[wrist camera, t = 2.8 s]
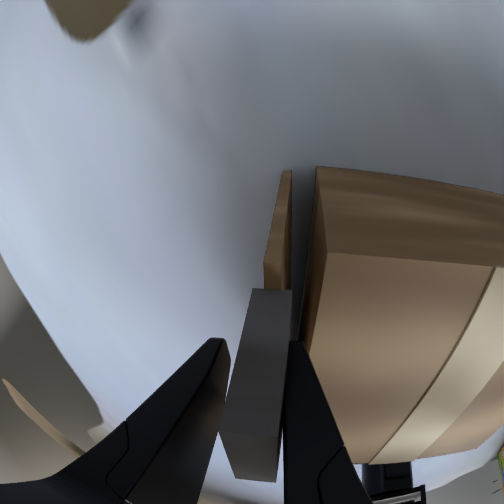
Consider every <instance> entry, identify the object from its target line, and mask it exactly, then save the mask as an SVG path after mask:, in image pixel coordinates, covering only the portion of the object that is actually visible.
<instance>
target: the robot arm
mask: <svg viewBox="0 0 504 504" xmlns="http://www.w3.org/2000/svg"><path fill="white" fill-rule="evenodd" d="M230 365H231V358H230V354H229V350H228V346H227V343H226V340H225V339H224V338H210V339H208V340H207V341H206V342H205V343H204V344H203V345H202V346H201V347H200V348H199V349H198V350H197V351H196V352H195V353H194V354H193V355H192V356H191V357H190V358H189V359H188V360H187V361H186V362H185V363H184V364H183V365H182V366H181V367H180V368H179V369H178V370H177V371H176V372H175V373H174V374H173V375H171V376H170V377H169V378H168V379H167V380H166V381H165V382H164V383H163V384H162V385H161V386H160V387H159V388H158V389H157V390H156V391H155V392H154V393H153V394H152V395H151V396H150V397H149V398H148V399H147V400H146V401H144V402H143V403H142V404H141V405H140V406H139V407H138V408H137V409H136V410H135V411H134V412H133V413H132V414H131V415H130V416H129V417H128V418H126V421H123V422H122V423H121V424H120V425H119V426H118V427H117V428H116V429H115V430H113V431H112V432H111V433H110V434H109V435H108V436H107V437H105V438H104V439H103V440H102V441H101V442H99V443H98V444H97V445H95V446H94V447H93V448H91V449H90V450H89V451H88V452H86V453H85V454H83V455H82V456H81V457H79V458H78V459H76V460H75V461H73V462H72V463H71V464H69V465H68V466H66V467H65V468H64V469H62V470H60V471H59V472H57V473H56V474H54V475H52V476H50V477H47V478H44V479H41V480H36V481H27V482H18V483H9V484H0V504H197V502H198V499H199V495H200V492H201V488H202V485H203V482H204V478H205V475H206V471H207V468H208V465H209V461H210V458H211V454H212V451H213V447H214V444H215V440H216V437H217V433H218V429H219V425H220V421H221V417H222V413H223V409H224V405H225V399H226V392H227V386H228V379H229V372H230ZM282 420H283V464H284V504H426V492H425V484H424V485H420V486H419V487H415V488H413V478H412V466H411V461H409V462H399V463H387V464H371V465H368V463H352V461H351V459H350V456H349V454H348V451H347V448H346V447H345V446H344V441H343V439H342V436H341V434H340V431H339V429H338V426H337V424H336V421H335V419H334V416H333V414H332V411H331V409H330V406H329V404H328V401H327V399H326V396H325V394H324V391H323V389H322V386H321V384H320V381H319V379H318V376H317V374H316V371H315V369H314V366H313V364H312V361H311V359H310V356H309V354H308V352H307V349H306V347H305V344H304V342H303V341H301V340H289V349H288V359H287V368H286V378H285V386H284V395H283V404H282ZM353 464H362V482H361V481H360V479H359V477H358V475H357V472H356V470H355V468H354V465H353ZM418 498H421V501H417V502H414V499H418Z"/></svg>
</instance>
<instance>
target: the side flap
mask: <svg viewBox="0 0 504 504" xmlns="http://www.w3.org/2000/svg"><path fill="white" fill-rule="evenodd" d="M291 254H292V171H282V176H281V181H280V186H279V191H278V196H277V200H276V205H275V210H274V215H273V220H272V224H271V229H270V234H269V238H268V243H267V248H266V253H265V257H264V262H263V265H264V289H257V288H253V289H252V294H251V298H250V302H249V306H248V310H247V315H246V319H245V323H244V327H243V331H242V335H241V339H240V344H239V348H238V352H237V356H236V360H235V364H234V368H233V372H232V376H231V381H230V385H229V389H228V393H227V397H226V401H225V405H224V409H223V413H222V417H221V421H220V425H219V429H218V432H219V434H220V437H221V440H222V443H223V446H224V449H225V451H226V454H227V457H228V460H229V462H230V465H231V468H232V470H233V473H234V476H235V478H237V479H245V480H254V481H264V482H275V483H276V478H277V471H278V463H279V456H280V448H281V439H282V431H283V420H282V404H283V395H284V386H285V378H286V368H287V359H288V349H289V340H290V338H291V311H292V290H291Z"/></svg>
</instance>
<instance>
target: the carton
mask: <svg viewBox="0 0 504 504" xmlns="http://www.w3.org/2000/svg"><path fill="white" fill-rule="evenodd" d="M297 340H301V341H303V342H304V344H305V347H306V349H307V352H308V354H309V356H310V359H311V361H312V364H313V366H314V369H315V371H316V374H317V376H318V379H319V381H320V384H321V386H322V389H323V391H324V394H325V396H326V399H327V401H328V404H329V406H330V409H331V411H332V414H333V416H334V419H335V421H336V424H337V426H338V429H339V431H340V434H341V436H342V439H343V441H344V446H345V447H346V448H347V451H348V454H349V456H350V459H351V461H352V463H368V465H371V464H387V463H399V462H409V461H414V460H415V459H420V458H428V457H434V456H441V455H447V454H452V453H458V452H463V451H468V450H472V449H476V448H478V447H479V446H480V445H481V444H482V443H484V442H485V441H486V440H487V439H488V438H489V437H490V436H491V435H493V434H494V433H495V432H496V431H497V430H498V429H499V428H500V427H501V426H502V425H503V424H504V195H500V194H495V193H491V192H487V191H482V190H477V189H473V188H468V187H463V186H458V185H452V184H447V183H442V182H436V181H430V180H424V179H418V178H412V177H405V176H399V175H392V174H384V173H377V172H369V171H360V170H352V169H342V168H333V167H322V166H317V167H316V179H315V191H314V202H313V212H312V222H311V232H310V241H309V250H308V259H307V267H306V275H305V283H304V291H303V299H302V306H301V313H300V320H299V327H298V334H297Z"/></svg>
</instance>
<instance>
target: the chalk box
mask: <svg viewBox="0 0 504 504" xmlns="http://www.w3.org/2000/svg"><path fill="white" fill-rule="evenodd" d="M498 462H499V468H500V474H501V480H502V488H503V496H504V445H503V447H502V448H501V450H500V452H499V453H498Z"/></svg>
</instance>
